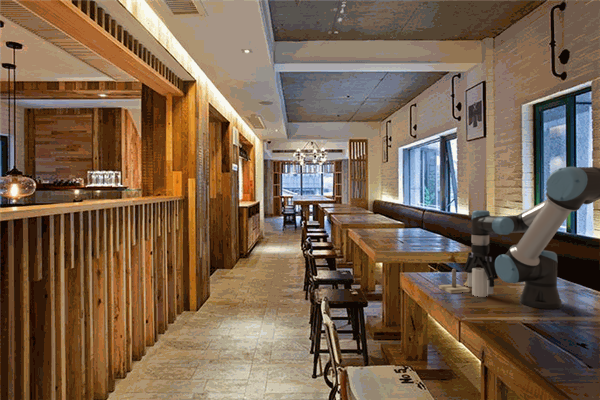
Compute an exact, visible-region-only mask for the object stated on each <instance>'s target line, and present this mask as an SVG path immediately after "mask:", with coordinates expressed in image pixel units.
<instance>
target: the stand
mask: <svg viewBox="0 0 600 400" xmlns="http://www.w3.org/2000/svg"><path fill="white" fill-rule="evenodd" d="M438 289H440V290H442V291H444V292H446V293H449V294H460V293H462V292H463V293H470V291H471V289H470V287H466V286H464V285H461V284H458V283H457V269H456V268H452V270H451V284H438Z"/></svg>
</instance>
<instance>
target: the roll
mask: <svg viewBox="0 0 600 400" xmlns="http://www.w3.org/2000/svg"><path fill="white" fill-rule="evenodd" d="M487 279H488V277H487V274H486V272H485V270H484V268H483V267H475V268H472V287H471V295H472V296H473V295H474V297H477V296H478V297H477V298H487V297H489V294H487ZM486 296H487V297H486Z"/></svg>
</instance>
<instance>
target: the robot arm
mask: <svg viewBox="0 0 600 400" xmlns="http://www.w3.org/2000/svg"><path fill="white" fill-rule="evenodd" d="M545 185H546V187H545V190H546V193H545V197H546V199H545V200H544V201H542V202H539V203H538V204H536V205H534V206H532V207H531V208H529V209H526V210H525V211H523V212H521V213H519V214H516V215H499V216H498V215H497V216H496V215H491V214H490V213H491V212H490V211H489V210H483V209H482V210H481V209H475V210H472V213H471V219H470V220H471V239H470V241H471V252H468V253H467V259H466V261H465V264H464V267H463V270H464V271H466V281H467V286H468V287H467V288H472V273H471V272H472V268H477V265H479V266H481V268H484V270H485V272H486V274H487V277H488V279H487V294H488V295H493V294H494V287H495V280H498V279H499V278H500V280H501V281H503V283H507V284H517V283H524V287H523V289H522V294H520V299H519V301H520V303H521V304H523V305H524V306H527V307H531V308H537V309H545V310H546V309H547V310H555V309H560V308H562V305H563V304H562V303H563V301H562V299H561V297H560V294H559V290H558V264H559V263H558V254H557V253H556V252H555V251H551V250H546V249H545V248H547V246H548V245H549V243H550V241H551V240H552V239H553V237H554V236H555V234H557V231H559V229H560V228H561V226H562V225H563V224H564V222H565V221H566V220H567V218H568V217H569V216H570V214H571V213H572V212H577V211H579V210H580V208H581V207H582V206H583V205H590V204H592V203H594V202H596V201H599V200H600V167H595V166H586V167H585V166H584V167H581V166H565V167H560V168H558V169H556V170H554V171H553V172H552V173H551V174H550V175H549V176H548V178H547V179H546V182H545ZM513 233H514V234H517V233H519V234H520V233H524V234H523V235H522V237H521V239H519V241H518V243H516V244H513V245H511V246H510V247H509V248H508V251H507V252H506V253H505V254H504V253H503V254H499V255H498V256H497V257H496V258H495V260H494V258H493V256H488V254H489V253H490V234H495V235H496V234H497V235H510V234H513Z"/></svg>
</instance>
